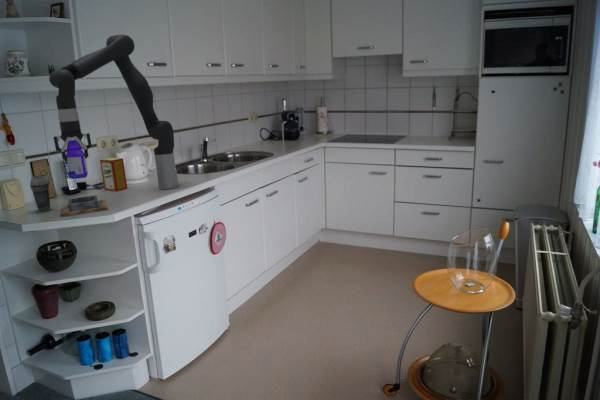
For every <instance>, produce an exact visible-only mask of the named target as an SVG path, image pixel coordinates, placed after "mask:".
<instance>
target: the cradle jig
mask: <svg viewBox="0 0 600 400" xmlns="http://www.w3.org/2000/svg"><path fill="white" fill-rule="evenodd" d="M103 211H108V205H107V201H106V199H99V200H98V195H96V194H94V195H88V196H87V195H86V196H78V197H74V198H73V197H72V198H68V203H67V204H64V205H61V209H60V215H59V216H60V218H62V217H63V218H64V217H71V216H76V215H83V214H89V213H90V212H91V213H96V212H103Z"/></svg>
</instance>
